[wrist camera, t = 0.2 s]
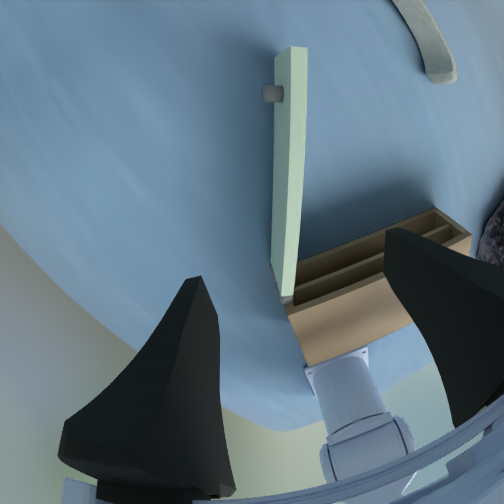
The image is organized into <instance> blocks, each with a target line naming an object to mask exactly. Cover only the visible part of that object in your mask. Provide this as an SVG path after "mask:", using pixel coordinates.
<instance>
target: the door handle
mask: <svg viewBox="0 0 504 504" xmlns="http://www.w3.org/2000/svg"><path fill="white" fill-rule="evenodd" d="M392 1H393V2H394V4H395V5H396V6H397V8H398V9H399V11H400V13H401V14H402V16H403V17H404V19H405V21H406V22H407V24H408V26H409V28H410V29H411V31H412V33H413V35H414V37H415V39H416V41H417V43H418V45H419V48H420V51H421V54H422V57H423V61H424V65H425V72H426V74H427V77H428V79H429V80H430V82H432V83H434V84H438V85H445V84H450V83H453V82H454V81H456V79H457V75H458V70H457V67H456V63H455V60H454V57H453V54H452V52H451V50H450V48H449V46H448V44H447V42H446V40H445V38H444V36H443V34H442V32H441V30H440V29H439V27H438V25H437V23H436V21H435V20H434V18H433V16H432V15H431V13H430V11H429V10H428V8H427V6H426V5H425V3H424V2H423V0H392Z"/></svg>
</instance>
